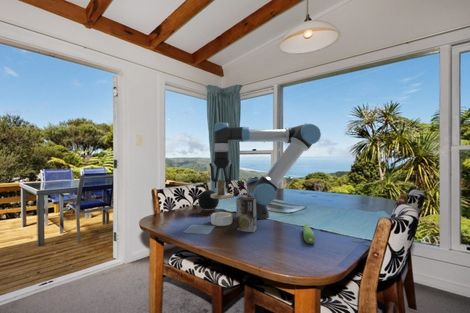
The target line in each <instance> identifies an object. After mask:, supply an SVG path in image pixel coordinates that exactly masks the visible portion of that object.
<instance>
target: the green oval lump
mask: <svg viewBox="0 0 470 313" xmlns="http://www.w3.org/2000/svg"><path fill="white" fill-rule="evenodd" d="M302 233H303V234H302V235H303V240H304V241H305V242H306V244H312V245H313V243H314V242H315V240H316V238H315V233H314V232H313V229H312V228H311V227H310V226H309V224H307V223H304V225H303V226H302Z"/></svg>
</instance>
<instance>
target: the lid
mask: <svg viewBox="0 0 470 313" xmlns="http://www.w3.org/2000/svg"><path fill="white" fill-rule="evenodd" d="M224 183H225V179H218V195H217V192H215V193H214V194H211V198H215V199H219V200H225V199H226V200H227V199H232V198H233V193H229V192H227V194H226V195H224Z"/></svg>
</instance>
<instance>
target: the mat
mask: <svg viewBox="0 0 470 313" xmlns="http://www.w3.org/2000/svg"><path fill="white" fill-rule="evenodd" d="M215 228H216V225H206V224H205V225H204V224H191V225H189V227H187V228H186V229H184V230H183V231H182V233H184V234H186V233H189V234H197V235H198V234H203V235H209V234H210V233H211V232H212V231H213V229H215Z"/></svg>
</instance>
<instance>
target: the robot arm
mask: <svg viewBox="0 0 470 313" xmlns="http://www.w3.org/2000/svg"><path fill="white" fill-rule="evenodd" d="M213 133H214V151H215V152H214V160H213V162H210V163H209V164H208V165H209V167H210V180H211V182H214V189H216V193H217V195H218V180H219V176H220V170H221V169H222V171H223V175H224V180H225V183H224V195H226V194H227V193H228V189H229V182H232V180H233V167H234V163H233V162H230V160H229V141H231V142H233V143H239V142H240V143H244V142H249V143H250V142H251V143H252V142H253V143H254V142H255V143H256V142H259V143H260V142H261V143H262V142H263V143H264V142H265V143H267V142H270V143H271V142H272V143H273V142H275V143H277V142H279V143H280V142H281V143H283V142H284V144H289V145H288V146H287V147H286V149H285V150H284V151H283V152H282V154H281V155H280V156H279V157H278V159H277V160H276V162H275V163H274V164H273V165H272V167H271V168H270V169H269V171H268V172H267V173H266V175H261V176H260V178H248V179H247V180H246V197H254V198H256V220H263V219H269V217H270V212H269V209H268V205H270V204H271V203H272V202H274V200H275V199H276V193H277V191H278V190H279V188H280V186H279V184H280V183H281V182H282V180H283V179H284V178H285V176H286V175H287V174H288V173H289V171H290V170H291V168H292V167H293V166H294V164H295V163H297V160H299V158H301V155H302V154H303V153H304V152H306V151H309V149H310V148H311V147H312V146H313V145H314V144H316V143H318V142H319V140H320V139H321V136H322V135H321V134H322V133H321V128H320V127H319V126H318V125H317V124H315V123H313V122H306V123H304V124H300V125H297V126H292V127H285V128H283V129H274V128H273V129H269V128H268V129H265V128H262V129H259V128H258V129H257V128H256V129H255V128H254V129H253V128H252V129H250V127H248V126H229V123H228V122H217V123H215V124H214V132H213ZM227 166H229V168H228V171H227ZM215 167H216V169H215Z"/></svg>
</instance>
